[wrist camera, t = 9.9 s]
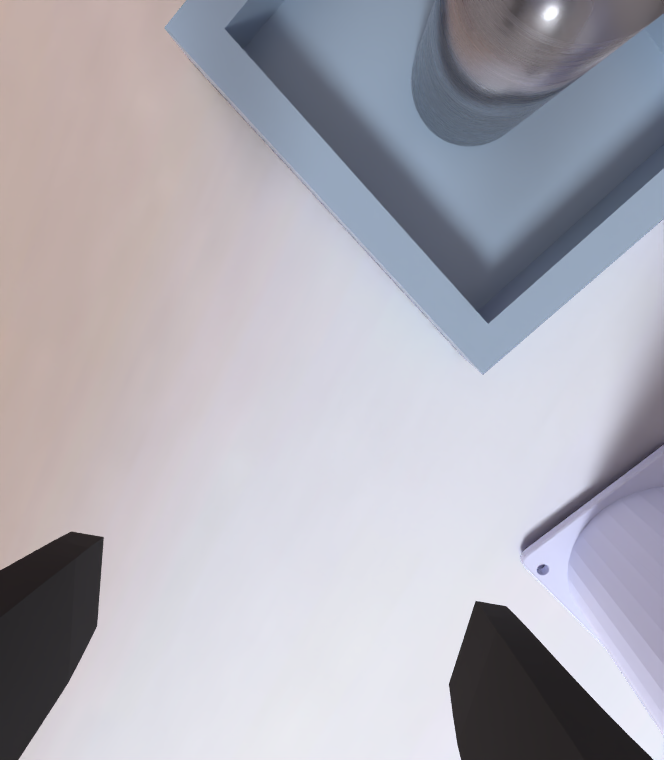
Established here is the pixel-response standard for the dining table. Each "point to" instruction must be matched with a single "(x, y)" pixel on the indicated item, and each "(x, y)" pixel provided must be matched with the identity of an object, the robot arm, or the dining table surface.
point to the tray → (444, 158)
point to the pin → (512, 58)
